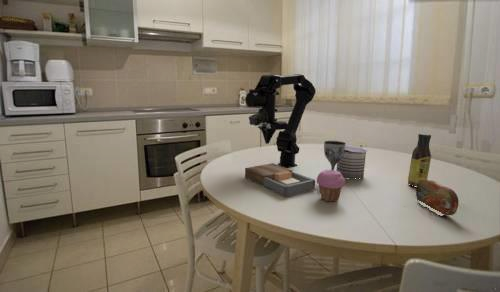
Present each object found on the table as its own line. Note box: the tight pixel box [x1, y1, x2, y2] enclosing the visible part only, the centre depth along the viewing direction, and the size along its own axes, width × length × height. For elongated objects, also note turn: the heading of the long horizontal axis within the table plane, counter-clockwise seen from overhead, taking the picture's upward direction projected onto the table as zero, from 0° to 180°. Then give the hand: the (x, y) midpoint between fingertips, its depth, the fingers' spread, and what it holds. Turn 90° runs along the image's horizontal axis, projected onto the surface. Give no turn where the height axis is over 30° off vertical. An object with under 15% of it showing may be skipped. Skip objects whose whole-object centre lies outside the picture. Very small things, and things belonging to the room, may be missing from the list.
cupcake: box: [316, 169, 346, 202], centre depth 96 cm, size 9×9×10 cm
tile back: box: [274, 171, 293, 183], centre depth 108 cm, size 6×4×2 cm
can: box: [335, 144, 368, 180], centre depth 121 cm, size 11×11×12 cm
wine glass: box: [323, 140, 347, 170], centre depth 115 cm, size 8×8×15 cm
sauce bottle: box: [407, 133, 432, 186], centre depth 109 cm, size 7×6×20 cm
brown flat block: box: [244, 162, 293, 187], centre depth 116 cm, size 14×12×4 cm
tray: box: [262, 171, 316, 198], centre depth 106 cm, size 14×12×4 cm
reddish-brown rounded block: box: [415, 179, 459, 216], centre depth 89 cm, size 15×3×8 cm, turn 5°
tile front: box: [279, 178, 300, 186], centre depth 105 cm, size 6×4×2 cm
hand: (267, 143), depth 124 cm, fingers closed
